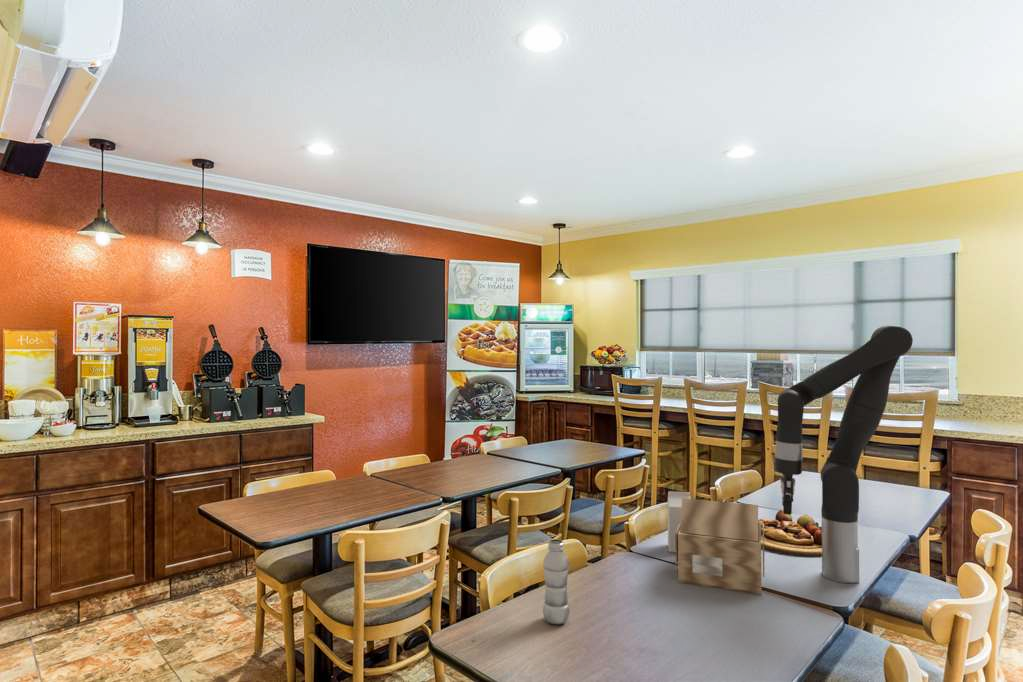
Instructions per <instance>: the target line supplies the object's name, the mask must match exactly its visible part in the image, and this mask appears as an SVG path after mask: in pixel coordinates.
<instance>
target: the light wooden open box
mask: <svg viewBox="0 0 1023 682" xmlns="http://www.w3.org/2000/svg"><path fill="white" fill-rule="evenodd" d="M680 524H681V521H680ZM680 524H679V526H678V528H677V531H676V533H675V552H674V553H675V555H674V556H675V565H677V573H678V574H677V581H678V583H680V584H688V585H695V586H700V587H707V588H708V587H709V588H714V589H720V590H721V589H722V590H728V591H734V592H741V593H747V594H752V595H753V594H754V595H760V596H761V595H762V577H765V549H764V523H763V548H761V522H759V521H758V541H750V540H741V539H733V538H724V537H716V536H707V535H699V534H690V533H682V532H680Z"/></svg>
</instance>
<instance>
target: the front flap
mask: <svg viewBox="0 0 1023 682" xmlns="http://www.w3.org/2000/svg"><path fill="white" fill-rule="evenodd" d="M758 520H759V505H758V504H749V503H748V504H747V503H737V502H730V501H729V502H728V501H719V500H718V501H715V500H707V499H697V498H691V499H687V498H682V507H681V524H680V532H682V533H690V534H699V535H707V536H716V537H724V538H733V539H741V540H750V541H758Z"/></svg>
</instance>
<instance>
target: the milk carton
mask: <svg viewBox="0 0 1023 682" xmlns="http://www.w3.org/2000/svg"><path fill="white" fill-rule="evenodd" d="M682 498H687V499H692V497H691V492H688V491H687V492H686V491H684V492H683V491H668V492H667V546H668V552H670V553H675V533H676V531H677V528H678V526H679V524H680V521H681V507H682Z"/></svg>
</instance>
